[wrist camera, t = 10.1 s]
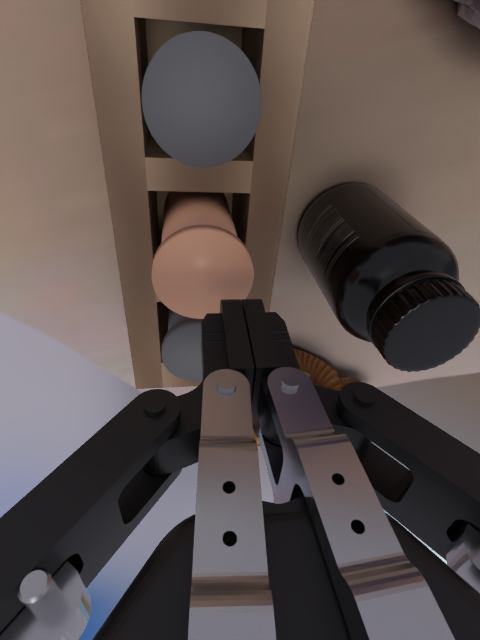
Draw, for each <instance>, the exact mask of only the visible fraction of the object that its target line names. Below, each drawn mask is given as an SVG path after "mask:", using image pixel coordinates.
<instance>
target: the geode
mask: <svg viewBox="0 0 480 640" xmlns="http://www.w3.org/2000/svg"><path fill="white" fill-rule="evenodd" d="M454 1H456V2H459V4H458V13H457V15H458V16H459V17H461V18H462V19H463V20H465V21H466V22H468V23H469V24H471V25H473V26H476V27H478V28H479V30H480V0H454Z"/></svg>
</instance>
